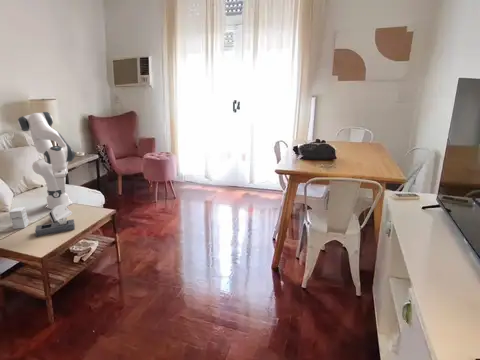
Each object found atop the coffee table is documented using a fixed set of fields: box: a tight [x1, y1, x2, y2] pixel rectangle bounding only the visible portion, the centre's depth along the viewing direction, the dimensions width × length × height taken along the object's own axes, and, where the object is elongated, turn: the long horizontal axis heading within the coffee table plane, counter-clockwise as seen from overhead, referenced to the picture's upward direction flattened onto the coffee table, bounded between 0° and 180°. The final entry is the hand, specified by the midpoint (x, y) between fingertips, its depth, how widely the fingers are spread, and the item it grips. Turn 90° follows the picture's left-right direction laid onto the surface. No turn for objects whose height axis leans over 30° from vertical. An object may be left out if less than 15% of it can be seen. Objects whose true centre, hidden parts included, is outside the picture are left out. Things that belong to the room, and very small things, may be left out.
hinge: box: [48, 204, 73, 223], centre depth 242 cm, size 17×5×10 cm, turn 172°
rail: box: [34, 219, 76, 238], centre depth 223 cm, size 8×22×4 cm, turn 115°
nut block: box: [59, 218, 67, 226], centre depth 224 cm, size 4×4×8 cm
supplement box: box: [9, 206, 30, 230], centre depth 230 cm, size 7×7×13 cm
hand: (63, 190), depth 228 cm, fingers open, 8 cm apart
